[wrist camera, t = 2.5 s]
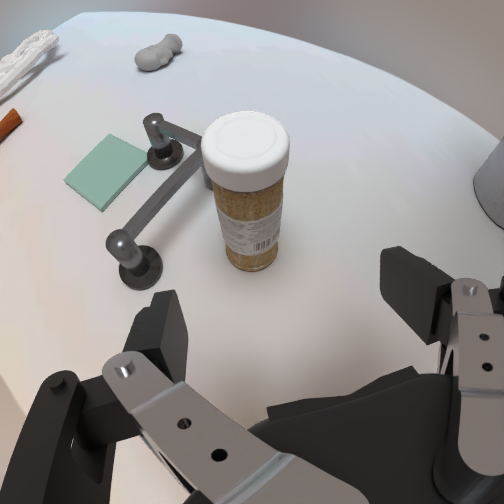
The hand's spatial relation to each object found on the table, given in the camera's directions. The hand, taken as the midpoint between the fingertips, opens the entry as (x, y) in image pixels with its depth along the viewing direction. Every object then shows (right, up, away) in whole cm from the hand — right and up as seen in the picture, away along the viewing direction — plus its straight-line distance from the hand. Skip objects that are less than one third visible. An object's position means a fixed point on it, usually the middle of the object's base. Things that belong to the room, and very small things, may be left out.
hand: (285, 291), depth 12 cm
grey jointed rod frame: (-11, +7, +18) cm, 22 cm away
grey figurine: (-15, +31, +30) cm, 46 cm away
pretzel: (-56, +41, +35) cm, 78 cm away
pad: (-17, +11, +20) cm, 29 cm away
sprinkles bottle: (-1, +2, +16) cm, 16 cm away
